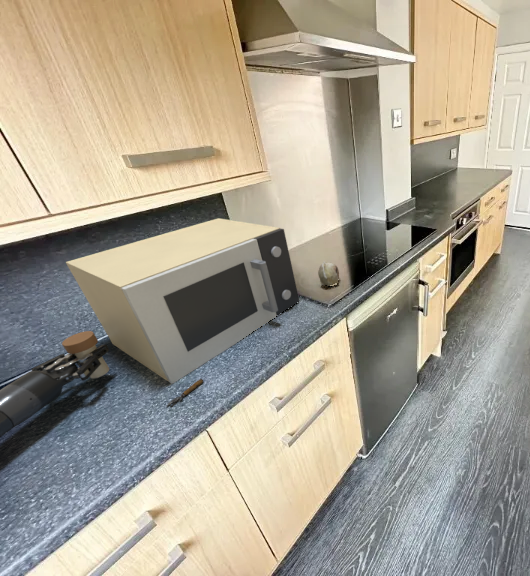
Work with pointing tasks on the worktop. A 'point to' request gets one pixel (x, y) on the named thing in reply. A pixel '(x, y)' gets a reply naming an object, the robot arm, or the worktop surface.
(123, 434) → the worktop surface
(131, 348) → the microwave
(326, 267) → the garlic bulb
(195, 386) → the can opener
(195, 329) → the microwave door
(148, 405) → the worktop surface
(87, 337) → the mushroom
